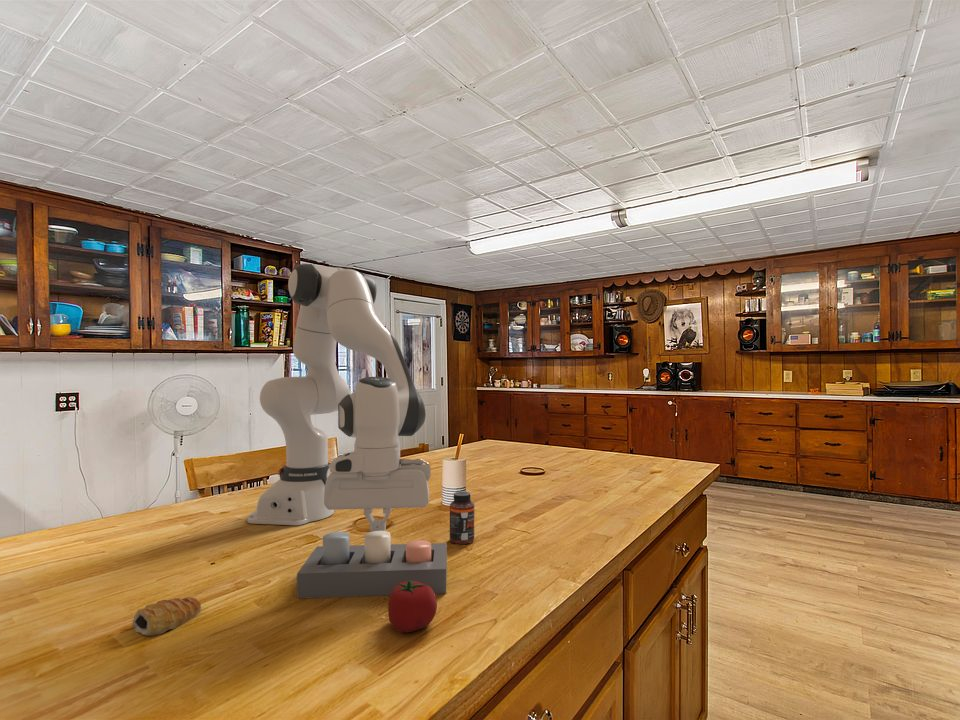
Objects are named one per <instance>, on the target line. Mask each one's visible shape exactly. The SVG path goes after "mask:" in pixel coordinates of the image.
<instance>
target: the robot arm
mask: <svg viewBox="0 0 960 720" xmlns="http://www.w3.org/2000/svg"><path fill="white" fill-rule="evenodd" d="M287 286H288V292H289V296H290V298H291V300H292V301H293V302H294V303H296V304H298V305H300V308H299V310H298V315H297V320H296V326H295V333H294V340H293V346H292V347H293V348H292V352H293V354H294V357H295V358H296V359H297V360H298V361H299V362H300V363H301V364H303V365H305V366H306V368H307V374H306V376H284V377H279V378H274V379H271V380H268V381H266V382H265V383H264V385H263V386H262V388H261V390H260V394H259V403H260V406H261V408H262V410H263V411H264V412H265V414H267V415H268V416H269V417H271V418H272V419H273V420H274V421H276V423H277V424H278V425H279V427H280V429H281V430H282V433H283V435H284V442H285V450H286V452H285V453H286V463H285V464H283V465H282V466H281V468H279V470H278V471H277V472H278V473H277V476H279V479H278V480H277V481H276V482H274V484H272V485H271V486H270V487H269V488H267V489H266V490H265V491H263V492H262V493H261V494H260V496H259V498H258V500H257V504H256V509H255V510H254V511H252V512H251V513H249V515H248V516H247V519H246V521H247V523H248V524H255V525H258V524H259V525H261V524H262V525H280V526H281V525H282V526H301V525H304V524H308V523H311V522H315V521H319V520H323V519H327V518H328V517H331V516H332V515H333V514H334V513H335V510H363V515H364V518H365V519H366V520H367V522H368V523H369V532H373V531H386V529H387V520H388V519H389V517H390V515H391V512H392V509H405V508H406V509H410V508H411V509H413V508H418V509H419V508H426V507H427V505H428V504H429V503H430V489H429V482H428V481H430V479H431V475H432V474H431V473H432V472H431V470H432V469H431V465H430V463H429V462H427V461H425V460H424V459H422V458H417V459H410V458H401V441H400V437H412V436H413V435H415V434H416V433H417V432H418V431H419V430H420V429H421V428H422V427H423V425H424V424H425V421H426V408H425V403H424V401H423V399H422V397H421V394H419V391H418V389H417V387H415V383H414V380H413V378H412V375H411V373H410V371H409V367H408V365H407V363H406V361H405V357H404V355H403V352H402V350H401V348H400V345H399V342H398V341H397V338H396V336H395V334H394V332H393V331H391V330H390V329H388V328H387V327H386V326H385V325H384V324H383V323H382V322H381V321H380V319H379V317H378V316H377V313H376V311H375V305H374V304H375V302H376V298H377V293H378V292H377V284H376V282H375V280H374V278H373V276H370V275H369V274H366V273H364V272H362V271H361V272H359V271H357V270H355V269H352V268H343V267H338V266H326V265H314V264H312V263H300V264H297V265H296V266H295V267H293V269H292V270H291V273H290V275H289V277H288V284H287ZM337 344H339V345H340V346H342V347H344V348H346V349H348V350H351V351H355V352H357V353H361V354H364V355H366V356H369V357H371V358H373V359H375V360H377V361H378V362H379V363H381V365H382V366H383V368H384V370H385V372H386V373H385V374H386V375H387V376H385V377H383V376H367V377H362V378H360V379H358V381H357V382H356V387H355V390H354V392H352V393H351V390H350V386H349V384H348V383H347V381H346V380H345V379H344V378H343V377H342V376H341V375H340V373H339V370H338V367H337V365H336V363H337V362H336V350H337ZM334 412H338V414H337V415H338V416H337V417H338V419H337V421H338V422H337V423H338V424H337V425H338V427H337V428H338V429H339V430H340V431H341V432H342V433H343V434H344V435H346V436H347V437H348V438H355V441H354V444H353V446H354V447H353V449H354V451H350V452H347V453H345V454H341V455H339V456H337V457H335V458H334V459H332V460H331V462H329V439H328V436H327V434H326V433H325V431H323V430H322V429H319V428H318V427H315V426H314V424H313V423H312V420H311V416H312V415H315V416H316V415H323V414H325V415H326V414H331V413H334ZM373 509H382V514H383V518H382V519H375V518H374V516H373V514H372V513H373V511H374V510H373Z"/></svg>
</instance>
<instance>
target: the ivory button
mask: <svg viewBox="0 0 960 720" xmlns="http://www.w3.org/2000/svg"><path fill="white" fill-rule="evenodd" d="M363 545H365V564H370V563H391V533H390V532H389V531H387V530H385V531H369V532H367V533H366V534H365V535H364V544H363Z"/></svg>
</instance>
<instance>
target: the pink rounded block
mask: <svg viewBox="0 0 960 720" xmlns="http://www.w3.org/2000/svg"><path fill="white" fill-rule="evenodd" d="M405 544H406V562H431V542H430V541H427V540H424V539H423V540H421V539H420V540H419V539H417V540H412V541H410V542H407V543H405Z"/></svg>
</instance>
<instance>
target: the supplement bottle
mask: <svg viewBox="0 0 960 720" xmlns="http://www.w3.org/2000/svg"><path fill="white" fill-rule="evenodd" d="M471 497H472V496H471V493H470V492H469V491H456V492H454V493H453V501H452V502H450V504H449V540H450V542H451V543H453V544H457V545H466V544H470V543H472V542H474V540H475V503H474V502H473V501H472V499H471Z"/></svg>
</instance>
